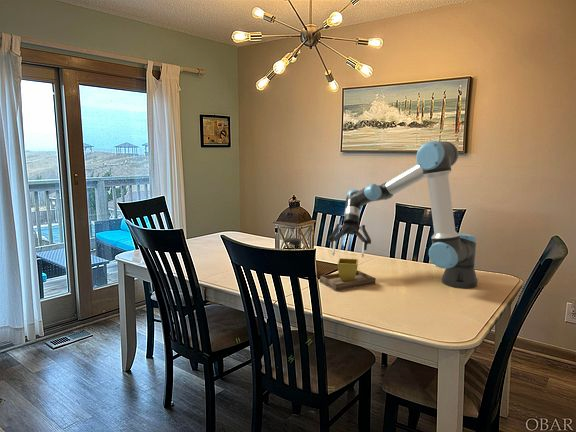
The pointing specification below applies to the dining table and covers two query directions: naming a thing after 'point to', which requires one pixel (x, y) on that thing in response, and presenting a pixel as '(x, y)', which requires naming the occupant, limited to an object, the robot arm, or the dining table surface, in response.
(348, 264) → the flower pot
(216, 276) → the dining table surface
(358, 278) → the walnut tray
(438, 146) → the robot arm
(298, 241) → the french press
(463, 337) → the dining table surface
